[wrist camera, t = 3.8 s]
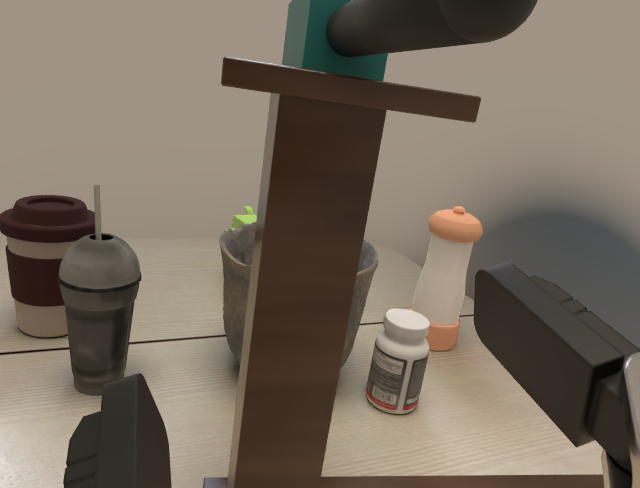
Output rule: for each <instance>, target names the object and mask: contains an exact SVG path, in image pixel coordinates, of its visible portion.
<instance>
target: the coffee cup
mask: <svg viewBox="0 0 640 488" xmlns="http://www.w3.org/2000/svg"><path fill="white" fill-rule="evenodd" d="M0 231H1V233H3V234H4V235H6V236H7V246H6V255H7V263H8V271H9V279H10V286H11V294H12V296H13V298H14V300H15V308H16V316H17V324H18V327H19V328H20V330H21V331H23V332H24V333H26V334H28V335H32V336H37V337H57V336H63V335H67V334H68V330H67V321H66V312H65V303H64V300H63V298H62V294H61V289H60V284H59V282H58V279H57V277H58V274H59V269H60V265H61V262H62V259H63V257H64V255H65V253H66V251H67V250H68V248H69V247H70V246H71V245H72V244H73V243H75V242H76V241H77V240H79V239H80V238H82V237H84V236H87V235H90V234H95V233H96V232H95V212H93V211H90V210H88V209H87V207H86V205H85V203H84V202H83V201H81V200H79V199H76V198H72V197H66V196H56V195H37V196H30V197H24V198H21V199H19V200H18V201H16V203H15V205H14V207H13V208H12V209H9V210H6V211H4V212H3V213H1V214H0Z"/></svg>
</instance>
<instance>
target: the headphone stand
mask: <svg viewBox="0 0 640 488" xmlns="http://www.w3.org/2000/svg"><path fill="white" fill-rule="evenodd" d="M221 84H222V85H223V86H228V87H235V88H242V89H248V90H255V91H262V92H269V93H271V96H270V105H269V114H268V123H267V132H266V140H265V149H264V158H263V168H262V177H261V185H260V194H259V204H258V212H257V221H256V230H255V239H254V248H253V256H252V265H251V274H250V283H249V292H248V301H247V310H246V319H245V328H244V337H243V346H242V355H241V364H240V373H239V381H238V390H237V399H236V408H235V417H234V426H233V435H232V444H231V453H230V462H229V471H228V478H204V483H203V488H605V486H604V478H603V475H485V476H362V477H321V472H322V466H323V461H324V455H325V450H326V444H327V438H328V433H329V427H330V422H331V416H332V411H333V405H334V400H335V394H336V388H337V383H338V377H339V372H340V366H341V361H342V355H343V350H344V344H345V338H346V333H347V327H348V322H349V316H350V311H351V305H352V300H353V294H354V288H355V283H356V277H357V272H358V266H359V261H360V255H361V250H362V244H363V238H364V232H365V227H366V222H367V216H368V210H369V205H370V200H371V193H372V188H373V183H374V177H375V171H376V166H377V161H378V155H379V150H380V144H381V138H382V133H383V127H384V122H385V116H386V111H387V110H391V111H398V112H406V113H412V114H418V115H426V116H432V117H439V118H446V119H453V120H460V121H466V122H475V121H476V118H477V114H478V110H479V105H480V101H481V98H480V97H478V96H472V95H465V94H458V93H453V92H446V91H440V90H434V89H428V88H421V87H414V86H408V85H402V84H396V83H390V82H383V81H377V80H371V79H365V78H358V77H352V76H346V75H339V74H333V73H327V72H320V71H314V70H308V69H301V68H295V67H289V66H283V65H276V64H270V63H264V62H257V61H251V60H244V59H238V58H232V57H224V58H223V66H222V79H221Z"/></svg>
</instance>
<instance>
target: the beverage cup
mask: <svg viewBox="0 0 640 488" xmlns="http://www.w3.org/2000/svg"><path fill="white" fill-rule="evenodd" d="M94 205H95V232H96V233H95V234H90V235H87V236H84V237H82V238H80V239H79V240H77V241H76V242H75V243H73V244H72V245H71V246H70V247H69V248H68V250H67V251H66V253H65V255H64V257H63V259H62V262H61V265H60V269H59V274H58V277H57V279H58V282H59V284H60V289H61V294H62V298H63V300H64V303H65V312H66V321H67V330H68V339H69V348H70V357H71V366H72V372H73V376H74V385H75V388H76V389H77V390H78V391H79V392H81V393H84V394H88V395H102V391H103V386H104V384H106V383H109V382H112V381H116V380H119V379H122V378H123V377H124V371H125V368H126V360H127V353H128V345H129V338H130V330H131V323H132V315H133V308H134V300H135V299H136V296H137V292H138V289H139V282H140V281H141V272H140V266H139V261H138V258H137V256H136V254H135V252H134V251H133V249H132V248H131V247H130V246H129V245H128V244H127V243H126V242H125V241H124V240H122V239H120V238H119V237H117V236H114V235H111V234H106V233H101V213H100V186H99V185H94Z"/></svg>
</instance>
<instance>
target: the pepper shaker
mask: <svg viewBox="0 0 640 488" xmlns="http://www.w3.org/2000/svg"><path fill="white" fill-rule="evenodd" d="M428 223H429V230H430V232H431V233H432V237H431V240H430V245H429V249H428V253H427V258H426V262H425V265H424V267H423V270H422V272H421V275H420V277H419V279H418V282H417V284H416V288H415V293H414V298H413V304H412V306H411V307H410V308H409V310H411V311H414V312H417V313H419V314H421V315H423V316H425V317H426V318H427V319H428V320H429V322H430V326H429V331H428V335H427V336H426V337H425V339H426V340H427V341H428V344H429V349H430V350H435V351H445V350H450V349H452V348H453V347H454V346H455V343H456V339H457V335H458V331H459V327H460V320H459V315H460V312H461V308H462V305H463V301H464V295H465V283H466V271H467V267H468V263H469V259H470V255H471V251H472V246H473V242H476V241H477V240H478V239H479V238H480V237H481V235H482V233H483V231H482V225H481V223H480V221H479V220H478V219H477V218H475V217H474V216H472V215H471V214H468V213H465V209H464V208H463V207H460V206H456V207H454V208H453V210H442V211H437V212H435V213H434V214H433V215H432V216H431V217H430V219H429V221H428Z"/></svg>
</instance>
